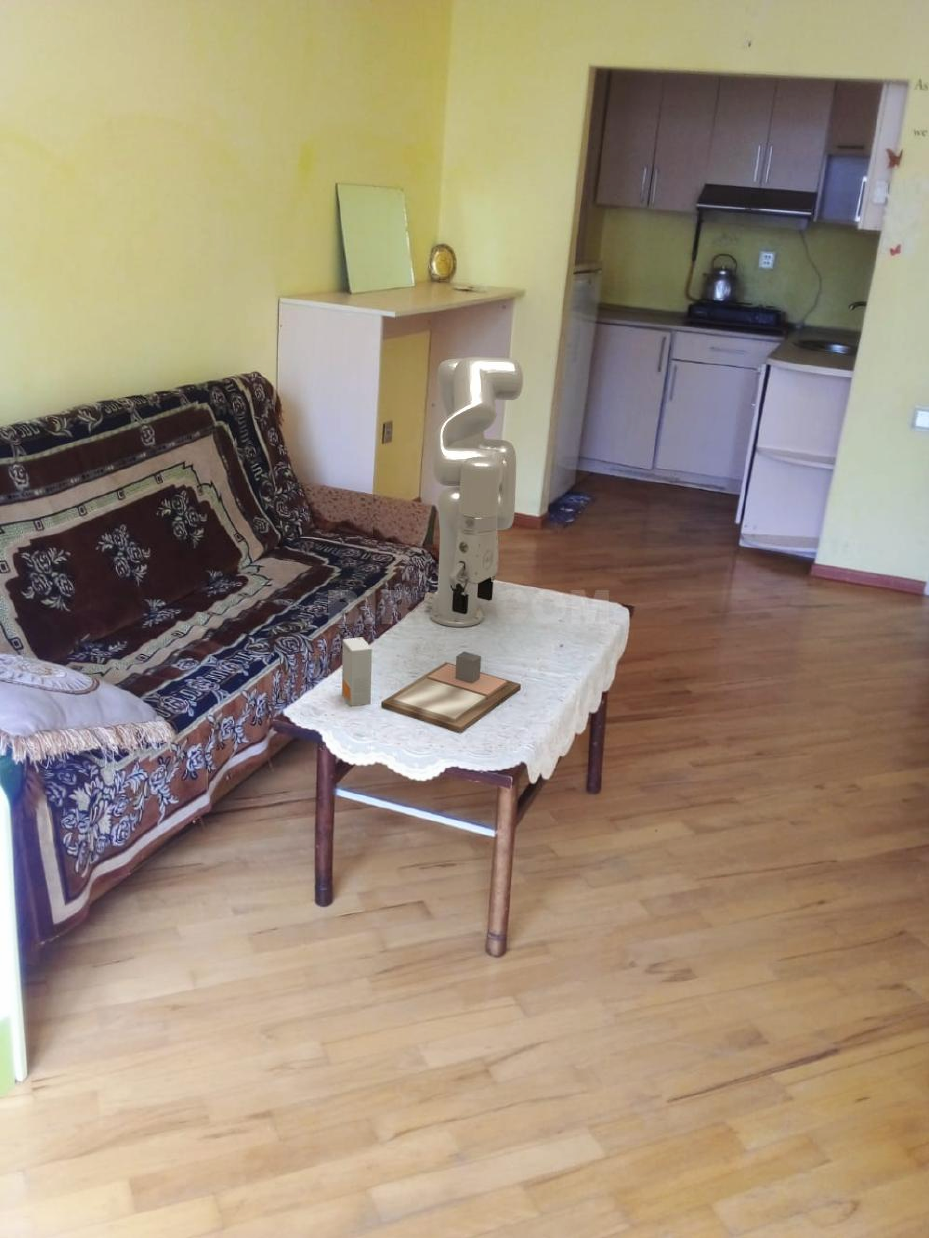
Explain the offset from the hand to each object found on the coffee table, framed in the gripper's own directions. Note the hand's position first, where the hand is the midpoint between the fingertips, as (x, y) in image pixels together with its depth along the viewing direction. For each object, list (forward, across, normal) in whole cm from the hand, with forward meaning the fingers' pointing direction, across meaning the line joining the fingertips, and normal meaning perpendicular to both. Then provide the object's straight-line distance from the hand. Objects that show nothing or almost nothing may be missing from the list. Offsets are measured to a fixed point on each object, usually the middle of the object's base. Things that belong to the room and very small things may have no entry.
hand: (472, 605), depth 218 cm
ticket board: (+18, -5, 0) cm, 19 cm away
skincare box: (+18, -17, +15) cm, 30 cm away
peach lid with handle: (+17, 0, 0) cm, 17 cm away
